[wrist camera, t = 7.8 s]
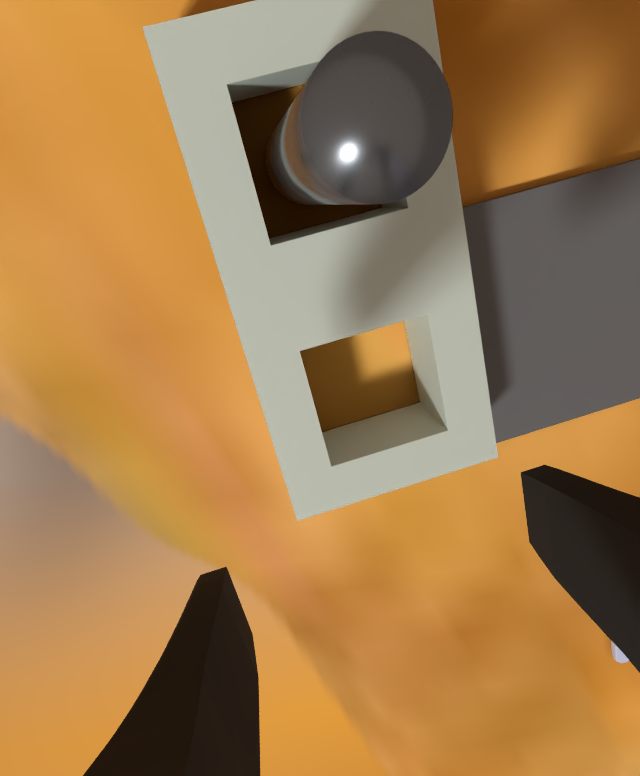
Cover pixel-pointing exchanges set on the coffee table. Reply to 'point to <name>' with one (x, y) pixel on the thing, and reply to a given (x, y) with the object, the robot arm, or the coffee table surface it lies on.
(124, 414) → the coffee table surface
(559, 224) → the rubber mat
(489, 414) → the socket block
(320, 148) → the steel peg
